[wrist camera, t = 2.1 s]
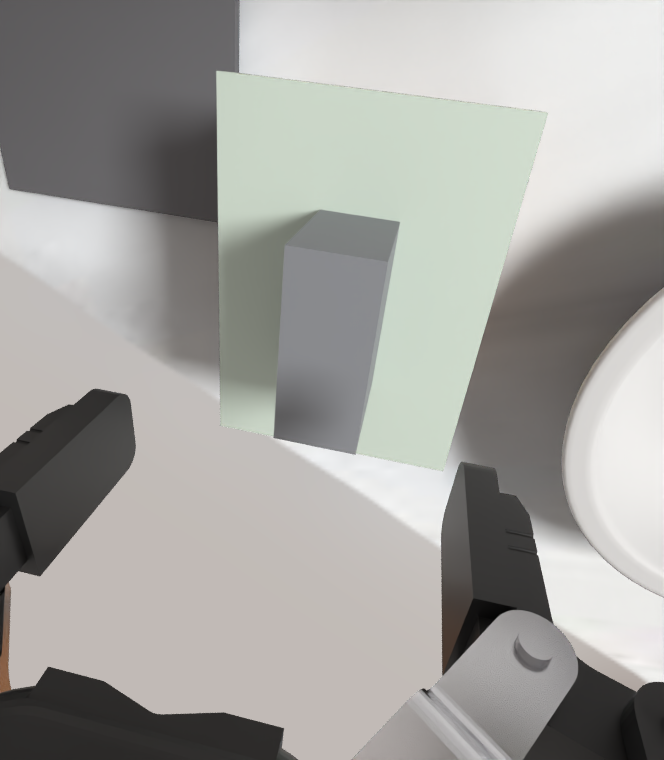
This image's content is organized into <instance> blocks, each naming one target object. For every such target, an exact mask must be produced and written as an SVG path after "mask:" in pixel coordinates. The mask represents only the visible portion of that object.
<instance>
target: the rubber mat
mask: <svg viewBox="0 0 664 760" xmlns="http://www.w3.org/2000/svg"><path fill="white" fill-rule="evenodd" d="M216 71H226V72H235V73H239V0H0V147H1V152H2V156H3V161H4V165H5V170H6V175H7V179H8V184H9V188H10V189H14V190H20V191H26V192H33V193H39V194H45V195H51V196H58V197H64V198H70V199H76V200H83V201H89V202H95V203H101V204H108V205H114V206H120V207H126V208H133V209H139V210H145V211H151V212H158V213H164V214H170V215H176V216H183V217H189V218H195V219H201V220H208V221H214V222H218V175H217V89H216Z"/></svg>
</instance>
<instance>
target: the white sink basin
mask: <svg viewBox="0 0 664 760" xmlns="http://www.w3.org/2000/svg"><path fill="white" fill-rule="evenodd" d="M561 468H562V480H563V486H564V491H565V495H566V500H567V502H568V505H569V508H570V510H571V513H572V515H573V517H574V519H575V521H576V523H577V525H578V527H579V528H580V530H581V532H582V533H583V534H584V536H585V537H586V539H587V540H588V541H589V543H590V544H591V545H592V547H593V548H594V549H595V550H596V551H597V552H598V553H599V554H600V555H601V556H602V558H603V559H604V560H606V561H607V562H608V563H609V564H610V565H611V566H612V567H614V568H615V569H616V570H617V571H619V572H620V573H621V574H623V575H624V576H626V577H627V578H628V579H630V580H631V581H633V582H635V583H636V584H638V585H640V586H642V587H643V588H645V589H647V590H649V591H651V592H653V593H655V594H657V595H659V596H661V597H664V287H663V288H662V289H661V290H660V291H659V292H657V293H656V294H655V295H654V296H653V297H651V298H650V299H649V300H648V301H647V302H646V303H645V304H644V305H643V306H642V307H641V308H640V309H639V310H638V311H637V312H636V313H635V314H634V315H633V316H632V317H631V318H630V319H629V320H628V321H627V322H626V323H625V324H624V325H623V326H622V328H621V329H620V330H619V331H618V332H617V333H616V335H615V336H614V337H613V338H612V339H611V340H610V342H609V343H608V344H607V346H606V347H605V348H604V350H603V351H602V353H601V354H600V355H599V357H598V358H597V360H596V361H595V362H594V364H593V365H592V367H591V369H590V371H589V372H588V374H587V376H586V378H585V379H584V381H583V383H582V385H581V387H580V389H579V391H578V394H577V396H576V398H575V400H574V403H573V405H572V408H571V411H570V414H569V417H568V421H567V424H566V428H565V433H564V439H563V445H562V460H561Z"/></svg>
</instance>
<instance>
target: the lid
mask: <svg viewBox="0 0 664 760" xmlns="http://www.w3.org/2000/svg"><path fill="white" fill-rule="evenodd" d="M216 89H217V175H218V261H219V347H220V425H221V426H224V427H229V428H234V429H238V430H243V431H248V432H253V433H258V434H263V435H268V436H273V437H274V438H277V439H282V440H287V441H291V442H296V443H301V444H306V445H311V446H316V447H321V448H326V449H330V450H335V451H340V452H345V453H350V454H355V455H356V454H361V455H366V456H370V457H375V458H380V459H385V460H390V461H395V462H400V463H405V464H410V465H414V466H419V467H424V468H429V469H434V470H439V471H443V470H444V467H445V463H446V460H447V457H448V453H449V450H450V446H451V443H452V439H453V436H454V433H455V429H456V426H457V422H458V419H459V416H460V412H461V409H462V405H463V402H464V398H465V395H466V392H467V388H468V385H469V381H470V378H471V375H472V371H473V368H474V364H475V361H476V358H477V354H478V351H479V347H480V344H481V340H482V337H483V334H484V330H485V327H486V323H487V320H488V317H489V313H490V310H491V306H492V303H493V299H494V296H495V293H496V289H497V286H498V282H499V279H500V276H501V272H502V269H503V265H504V262H505V259H506V255H507V252H508V248H509V245H510V241H511V238H512V235H513V231H514V228H515V224H516V221H517V218H518V214H519V211H520V207H521V204H522V200H523V197H524V194H525V190H526V187H527V183H528V180H529V177H530V173H531V170H532V166H533V163H534V160H535V156H536V153H537V149H538V146H539V142H540V139H541V136H542V132H543V129H544V125H545V122H546V119H547V115H548V113H547V112H542V111H534V110H526V109H519V108H511V107H503V106H495V105H487V104H479V103H471V102H463V101H455V100H448V99H440V98H432V97H424V96H416V95H408V94H400V93H392V92H384V91H377V90H369V89H361V88H353V87H345V86H337V85H329V84H321V83H314V82H306V81H298V80H290V79H282V78H274V77H266V76H258V75H250V74H243V73H235V72H226V71H216Z"/></svg>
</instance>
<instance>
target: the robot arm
mask: <svg viewBox="0 0 664 760" xmlns="http://www.w3.org/2000/svg"><path fill="white" fill-rule="evenodd" d="M135 448H136V445H135V435H134V427H133V419H132V411H131V403H130V399H129V397H128V396H127V395H125V394H121V393H116V392H111V391H105V390H101V389H93V390H91V391H90V392H88V393H87V394H86V395H85V396H84V397H82V398H81V399H80V400H79V401H78V402H77V403H75V404H74V405H67V406H65V407H62V408H60V409H58V410H56V411H54V412H51V413H49V414H47V415H46V416H45V417H43V418H42V419H41V420H40V421H39V422H37V423H36V424H35V425H34V426H32V427H31V428H30V431H26V432H25V433H24V434H23V435H21V436H20V437H19V438H18V439H17V442H16V443H14V442H13V443H12V444H10V445H9V446H8V447H7V448H6V449H4V450H3V451H2V452H1V453H0V760H298V759H296V758H295V757H294V756H293V755H291V754H290V753H288V752H286V751H285V750H283V749H282V740H283V731H284V728H281V727H277V726H273V725H269V724H265V723H261V722H258V721H254V720H250V719H246V718H242V717H239V716H235V715H231V714H227V713H197V714H165V715H161V714H155V713H152V712H150V711H148V710H147V709H145V708H144V707H142V706H141V705H139V704H138V703H136V702H135V701H133V700H132V699H130V698H129V697H127V696H126V695H124V694H123V693H121V692H119V691H118V690H116V689H115V688H113V687H112V686H110V685H109V684H107V683H106V682H104V681H101V680H97V679H93V678H89V677H86V676H81V675H78V674H74V673H70V672H66V671H63V670H59V669H55V668H51V667H48V668H47V670H46V671H45V672H44V674H43V675H42V677H41V678H40V680H39V681H38V683H37V684H36V686H31V687H25V688H18V689H13V690H11V686H10V681H9V669H8V662H9V634H10V605H11V604H10V603H11V587H10V585H9V581H10V580H11V579H12V578H13V576H14V575H15V574H16V573H17V572H18V571H20V572H24V573H28V574H33V575H37V576H41V575H42V573H43V572H44V571H45V570H46V568H47V567H48V566H49V565H50V564H51V562H52V561H53V560H54V559H55V558H56V556H57V555H58V554H59V553H60V552H61V550H62V549H63V548H64V546H65V545H66V544H67V543H68V542H69V541H70V539H71V538H72V537H73V536H74V535H75V533H76V532H77V531H78V529H79V528H80V527H81V526H82V525H83V524H84V522H85V521H86V520H87V519H88V518H89V516H90V515H91V514H92V513H93V512H94V510H95V509H96V508H97V507H98V505H99V504H100V503H101V502H102V500H103V499H104V498H105V497H106V496H107V494H108V493H109V492H110V491H111V490H112V488H113V487H114V486H115V485H116V484H117V482H118V481H119V480H120V479H121V477H122V476H123V475H124V474H125V472H126V471H127V470H128V469H129V467H130V465H131V463H132V461H133V458H134V455H135ZM441 562H442V563H441V565H442V567H441V570H442V675H443V676H442V678H441V679H440V680H439V681H438V682H437V683H436V684H435V685H434V686H433V687H432V688H431V689H429V690H427V691H426V690H425V689H421V690H419V691H418V692H416V693H415V694H414V695H413V696H412V697H411V698H410V699H409V700H408V701H407V702H406V703H405V704H404V705H403V706H402V707H401V708H400V709H399V710H398V711H397V712H396V713H395V714H394V715H393V716H392V717H391V718H390V720H389V721H388V722H387V723H386V724H385V725H384V726H383V727H382V728H381V729H380V730H379V731H378V732H377V733H376V734H375V735H374V736H373V737H372V738H371V740H370V741H369V742H368V743H367V744H366V745H365V746H364V747H363V748H362V749H361V750H360V751H359V752H358V753H357V754H356V755H355V756H354V757H353V759H352V760H664V682H652V683H648V684H645V685H643V686H642V687H641V688H640V689H639V690H638V691H637V692H636V691H634V690H632V689H630V688H628V687H626V686H624V685H622V684H620V683H619V682H617V681H615V680H613V679H611V678H609V677H607V676H605V675H604V674H602V673H600V672H597V671H596V670H594V669H593V668H591V667H589V666H588V665H587V664H585V663H584V662H583V661H581V660H580V659H579V658H578V657H577V656H576V654H575V651H574V649H573V647H572V645H571V643H570V642H569V641H568V639H567V638H566V636H565V635H564V634H563V633H562V632H561V631H560V630H559V629H558V628H557V627H556V626H555V625H554V624H553V621H552V617H551V612H550V608H549V603H548V599H547V594H546V590H545V585H544V580H543V576H542V571H541V567H540V562H539V557H538V555H537V548H536V544H535V539H533V530H532V525H531V521H530V516H529V514H528V513H527V511H526V510H525V508H524V507H523V505H522V504H521V503H520V501H519V500H518V498H517V497H516V496H514V495H509V494H504V493H499V486H498V480H497V474H496V470H495V469H494V468H490V467H485V466H480V465H475V464H470V463H465V462H461V463H460V465H459V467H458V470H457V473H456V477H455V480H454V483H453V486H452V490H451V493H450V496H449V499H448V503H447V506H446V509H445V513H444V518H443V524H442V532H441Z"/></svg>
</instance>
